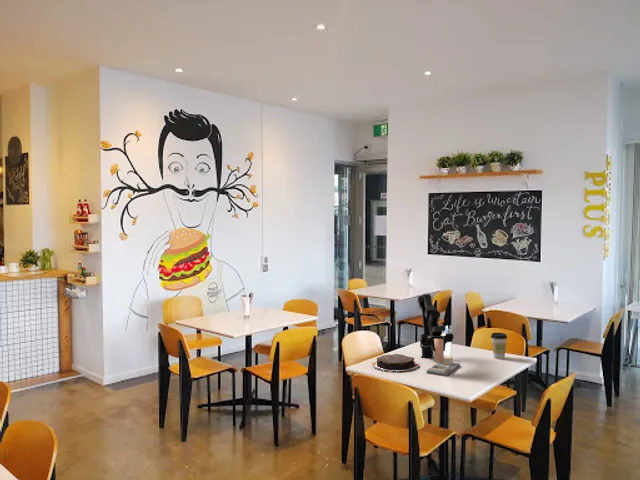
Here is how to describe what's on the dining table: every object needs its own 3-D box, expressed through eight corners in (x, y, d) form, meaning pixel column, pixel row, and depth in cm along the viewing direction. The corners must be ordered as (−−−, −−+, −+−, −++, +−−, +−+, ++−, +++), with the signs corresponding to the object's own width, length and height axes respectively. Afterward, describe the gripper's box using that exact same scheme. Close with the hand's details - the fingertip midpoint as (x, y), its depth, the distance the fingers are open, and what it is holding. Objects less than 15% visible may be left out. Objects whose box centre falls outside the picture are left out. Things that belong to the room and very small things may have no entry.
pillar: (433, 360, 302) (433, 338, 302) (442, 360, 302) (441, 338, 302) (435, 363, 297) (435, 340, 296) (444, 362, 297) (444, 340, 297)
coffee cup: (504, 361, 319) (504, 336, 319) (488, 358, 325) (488, 334, 325) (509, 357, 327) (509, 333, 326) (494, 355, 333) (493, 331, 332)
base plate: (426, 373, 298) (426, 363, 298) (440, 363, 318) (440, 354, 317) (447, 376, 292) (446, 366, 292) (459, 365, 311) (459, 356, 311)
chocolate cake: (383, 358, 334) (383, 347, 334) (425, 363, 320) (425, 352, 320) (364, 369, 310) (363, 358, 310) (408, 375, 296) (408, 364, 296)
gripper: (420, 320, 302) (425, 344, 292) (452, 319, 303) (458, 343, 292) (417, 331, 310) (422, 354, 300) (448, 329, 311) (454, 353, 301)
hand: (439, 351), depth 298 cm, fingers closed on pillar, 5 cm apart
